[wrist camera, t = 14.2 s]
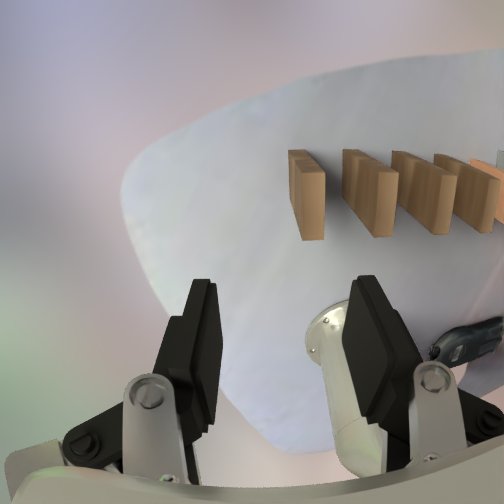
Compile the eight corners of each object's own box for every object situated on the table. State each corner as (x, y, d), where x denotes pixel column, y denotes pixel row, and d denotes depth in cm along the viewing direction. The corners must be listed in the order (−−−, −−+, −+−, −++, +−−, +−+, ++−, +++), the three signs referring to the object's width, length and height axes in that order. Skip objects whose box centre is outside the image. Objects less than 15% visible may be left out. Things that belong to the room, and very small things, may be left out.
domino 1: (304, 149, 28) (325, 172, 20) (305, 197, 31) (324, 239, 22) (288, 150, 29) (301, 173, 20) (289, 198, 31) (302, 240, 22)
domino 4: (445, 155, 28) (501, 180, 19) (441, 196, 30) (491, 232, 21) (434, 153, 28) (489, 178, 19) (430, 196, 30) (479, 233, 21)
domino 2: (357, 149, 28) (398, 172, 19) (356, 196, 30) (392, 236, 22) (342, 149, 28) (379, 172, 19) (341, 196, 31) (373, 237, 22)
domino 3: (405, 151, 28) (457, 176, 19) (401, 196, 30) (448, 234, 21) (391, 150, 28) (442, 174, 19) (389, 196, 30) (433, 234, 21)
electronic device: (495, 302, 39) (434, 332, 39) (513, 323, 35) (451, 358, 35) (480, 335, 45) (421, 364, 45) (493, 355, 40) (434, 388, 40)
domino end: (479, 160, 27) (534, 185, 19) (473, 198, 30) (523, 232, 21) (470, 158, 27) (525, 184, 19) (464, 198, 30) (515, 232, 21)
